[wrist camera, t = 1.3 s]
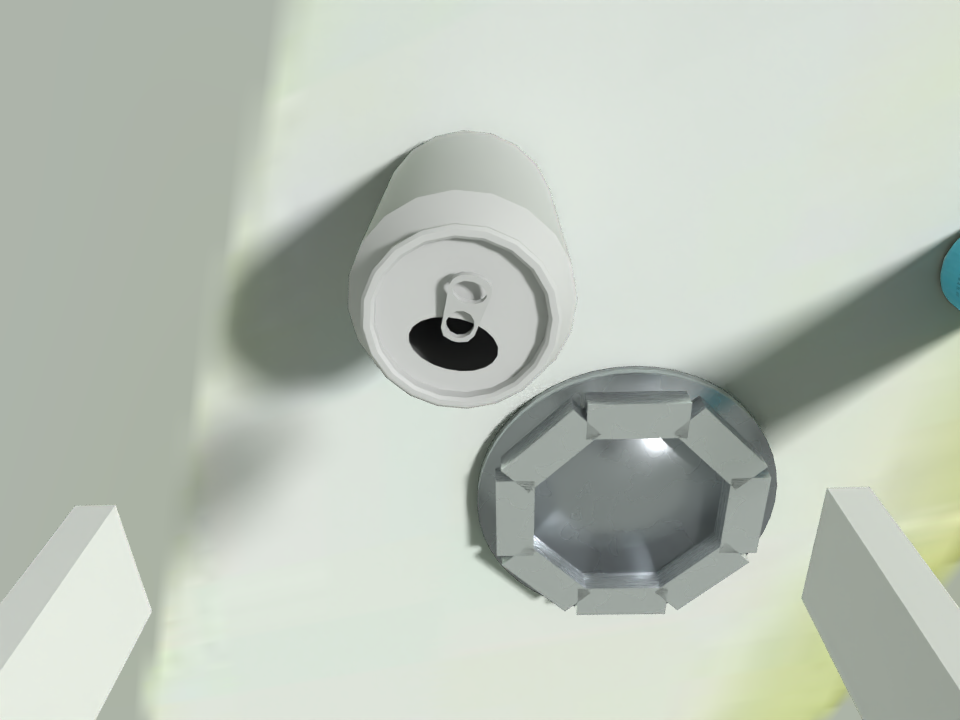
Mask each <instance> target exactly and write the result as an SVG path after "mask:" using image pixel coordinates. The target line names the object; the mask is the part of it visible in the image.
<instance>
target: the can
mask: <svg viewBox="0 0 960 720" xmlns="http://www.w3.org/2000/svg"><path fill="white" fill-rule="evenodd" d="M577 299H578V297H577V291H576V285H575V279H574V273H573V267H572V263H571V259H570V256H569V252H568V249H567V246H566V242H565V239H564V235H563V232H562V229H561V225H560V222H559V218H558V215H557V212H556V208H555V205H554V201H553V198H552V195H551V191H550V188H549V186H548V184H547V182H546V180H545V179H544V177H543V175H542V173H541V171H540V169H539V167H538V165H537V164H536V163H535V162H534V161H533V160H532V159H531V158H530V157H529V156H528V155H527V154H526V153H524V152H523V151H522V150H521V149H520V148H519V147H518V146H517V145H515V144H513V143H511V142H509V141H507V140H504V139H502V138H500V137H498V136H496V135H494V134H491V133H483V132H474V131H465V130H462V131H457V132H453V133H448V134H444V135H439V136H435V137H434V138H432V139H430V140H429V141H427V142H425V143H424V144H422V145H420V146H419V147H417V148H415V149H414V150H412V151H411V152H410V153H409V154H408V156H407V157H406V158H405V159H404V160H403V162H402V163H401V164H400V165H399V166H398V168H397V169H396V170H395V171H394V173H393V175H392V177H391V180H390V182H389V184H388V186H387V188H386V190H385V193H384V195H383V197H382V199H381V201H380V203H379V206H378V208H377V210H376V212H375V214H374V217H373V219H372V221H371V223H370V225H369V227H368V230H367V232H366V234H365V236H364V238H363V240H362V243H361V245H360V248H359V250H358V253H357V255H356V258H355V261H354V263H353V266H352V268H351V271H350V274H349V287H348V310H349V314H350V317H351V320H352V323H353V326H354V329H355V332H356V335H357V338H358V341H359V342H360V344H361V345H362V346H363V348H364V349H365V350H366V352H367V353H368V355H369V356H370V357H371V359H372V360H373V361H374V363H375V364H376V366H377V367H378V368H379V369H380V370H381V371H382V373H383V374H384V375H385V377H386V378H387V379H389V380H390V381H391V382H393V383H394V384H395V385H397V386H398V387H399V388H401V389H402V390H403V391H405V392H406V393H407V394H409V395H410V396H413V397H416V398H418V399H421V400H423V401H426V402H429V403H431V404H434V405H437V406H445V407H456V408H466V409H467V408H473V407H479V406H484V405H490V404H496V403H498V402H500V401H502V400H504V399H506V398H508V397H510V396H512V395H514V394H517V393H519V392H521V391H523V390H524V389H525V388H526V387H527V386H528V385H529V384H530V383H531V382H532V381H533V380H534V379H536V378H537V377H538V376H539V375H540V374H541V373H542V372H543V371H544V370H545V369H546V368H547V367H548V366H549V365H550V364H551V363H553V362H554V361H555V360H556V358H557V356H558V355H559V353H560V351H561V349H562V348H563V346H564V344H565V342H566V340H567V339H568V337H569V335H570V333H571V331H572V327H573V321H574V316H575V310H576V305H577Z"/></svg>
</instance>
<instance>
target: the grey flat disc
mask: <svg viewBox="0 0 960 720" xmlns="http://www.w3.org/2000/svg"><path fill="white" fill-rule="evenodd" d="M776 488H777V478H776V467H775V463H774V458H773V454H772V452H771V449H770V447H769V444H768V442H767V439H766V438H765V436H764V434H763V433H762V431H761V430H760V428H759V426H758V425H757V423H756V422H755V420H754V418H753V417H752V416H751V415H750V413H749V412H748V411H747V410H746V409H745V408H744V407H743V405H742V404H740V403H739V402H738V401H737V400H736V399H734V398H733V397H732V396H731V395H730V394H728V393H727V392H725V391H724V390H722V389H720V388H719V387H717V386H716V385H714V384H712V383H710V382H708V381H705V380H703V379H701V378H699V377H696V376H694V375H690V374H687V373H683V372H680V371H676V370H671V369H665V368H659V367H644V366H629V367H615V368H609V369H603V370H598V371H593V372H589V373H586V374H583V375H580V376H576V377H573V378H571V379H568V380H566V381H564V382H561V383H559V384H557V385H555V386H553V387H551V388H549V389H547V390H546V391H544V392H542V393H541V394H539V395H537V396H536V397H534V398H533V399H532V400H530V401H529V402H528V403H526V404H525V405H524V406H522V407H521V408H520V409H519V410H518V411H517V412H516V413H515V414H514V415H513V416H512V417H511V418H510V419H509V420H508V421H507V422H506V423H505V425H504V426H503V427H502V428H501V430H500V431H499V432H498V434H497V435H496V436H495V438H494V440H493V442H492V443H491V445H490V447H489V449H488V451H487V453H486V456H485V458H484V461H483V464H482V467H481V471H480V476H479V481H478V514H479V522H480V525H481V529H482V532H483V535H484V537H485V540H486V542H487V544H488V546H489V548H490V550H491V551H492V553H493V554H494V556H495V557H496V559H497V560H498V561H499V563H500V564H501V565H502V566H503V567H504V568H505V569H506V570H507V571H508V572H509V573H510V574H511V575H512V576H513V577H515V578H516V579H517V580H518V581H519V582H521V583H522V584H524V585H525V586H527V587H528V588H530V589H531V590H533V591H535V592H537V593H539V594H541V595H543V596H545V597H546V598H547V599H549V600H550V601H551V602H553V603H554V604H556V605H557V606H558V607H560V608H561V609H562V610H564V611H566V610H568V609H569V608H570V607H572V606H576V613H577V615H602V614H665V608H666V603H669V604H670V605H672V606H673V607H674V608H675V609H677V610H678V609H680V608H681V607H683V606H684V605H686V604H687V603H689V602H690V601H692V600H693V599H695V598H696V597H698V596H699V595H701V594H702V593H704V592H705V591H707V590H708V589H710V588H711V587H713V586H714V585H716V584H717V583H719V582H720V581H722V580H723V579H725V578H726V577H728V576H729V575H731V574H732V573H734V572H735V571H737V570H738V569H740V568H741V567H743V566H744V565H746V564H747V563H749V561H748V558H747V556H746V555H747V554H748V553H756V552H757V547H758V542H759V538H760V536H761V535H762V533H763V532H764V530H765V527H766V525H767V523H768V521H769V519H770V517H771V513H772V510H773V506H774V503H775V497H776Z"/></svg>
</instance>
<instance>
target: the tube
mask: <svg viewBox="0 0 960 720" xmlns="http://www.w3.org/2000/svg"><path fill="white" fill-rule="evenodd" d="M941 287H942V291H943V293H944V295H945V297H946V298H947V299H948V300H949V302H950V303H951V304H953V305H954V306H955V307H956V308H957V309H959V310H960V238H959V239H958V240H957V241H956V242H955V243H954V245H953V246H952V247H951V248H950V250H949V251H948V253H947V254H946V256H945V258H944V261H943V265H942V269H941Z"/></svg>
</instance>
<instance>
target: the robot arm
mask: <svg viewBox="0 0 960 720" xmlns="http://www.w3.org/2000/svg"><path fill="white" fill-rule="evenodd" d="M802 600H803V602H804V604H805V606H806V608H807V610H808V612H809V614H810V616H811V618H812V620H813V622H814V624H815V626H816V628H817V630H818V632H819V634H820V636H821V638H822V640H823V642H824V644H825V646H826V648H827V650H828V652H829V654H830V656H831V658H832V660H833V662H834V664H835V666H836V668H837V670H838V672H839V674H840V676H841V678H842V680H843V682H844V684H845V686H846V688H847V690H848V692H849V694H850V696H851V698H852V700H853V702H854V704H855V706H856V708H857V710H858V712H859V714H860V716H861V718H862V720H960V608H959V607H958V606H957V604H956V603H955V602H954V600H953V599H952V597H951V596H950V595H949V593H948V592H947V591H946V589H945V588H944V587H943V585H942V584H941V583H940V581H939V580H938V579H937V577H936V576H935V575H934V573H933V572H932V570H931V569H930V568H929V566H928V565H927V564H926V562H925V561H924V560H923V558H922V557H921V556H920V554H919V553H918V552H917V550H916V549H915V547H914V546H913V545H912V543H911V542H910V541H909V539H908V538H907V537H906V535H905V534H904V533H903V531H902V530H901V529H900V527H899V526H898V524H897V523H896V522H895V520H894V519H893V518H892V516H891V515H890V514H889V512H888V511H887V510H886V508H885V507H884V506H883V504H882V503H881V502H880V500H879V499H878V497H877V496H876V495H875V493H874V492H873V491H872V489H871V488H870V487H843V488H827V490H826V495H825V499H824V503H823V508H822V512H821V516H820V521H819V525H818V529H817V534H816V538H815V542H814V546H813V551H812V555H811V559H810V564H809V568H808V572H807V577H806V581H805V585H804V589H803V594H802ZM151 612H152V610H151V607H150V604H149V601H148V598H147V595H146V592H145V589H144V587H143V584H142V581H141V578H140V575H139V572H138V569H137V566H136V563H135V560H134V557H133V554H132V551H131V548H130V546H129V543H128V540H127V537H126V534H125V531H124V528H123V525H122V522H121V519H120V516H119V514H118V511H117V507H116V505H85V506H74V508H73V509H72V510H71V512H70V513H69V514H68V516H67V517H66V518H65V520H64V521H63V522H62V523H61V525H60V526H59V528H58V529H57V530H56V531H55V533H54V534H53V535H52V536H51V538H50V539H49V540H48V542H47V543H46V544H45V546H44V547H43V548H42V549H41V551H40V552H39V553H38V555H37V556H36V557H35V559H34V560H33V561H32V563H31V564H30V565H29V566H28V568H27V569H26V570H25V572H24V573H23V575H22V576H21V577H20V578H19V579H18V581H17V582H16V583H15V585H14V586H13V587H12V589H11V590H10V591H9V593H8V594H7V595H6V596H5V598H4V599H3V600H2V602H1V603H0V720H96V718H97V716H98V714H99V712H100V710H101V708H102V706H103V704H104V702H105V701H106V699H107V697H108V695H109V693H110V691H111V689H112V687H113V685H114V683H115V681H116V679H117V677H118V676H119V674H120V672H121V669H122V668H123V666H124V664H125V662H126V660H127V658H128V656H129V654H130V653H131V651H132V649H133V647H134V645H135V643H136V641H137V639H138V637H139V635H140V633H141V632H142V630H143V628H144V626H145V623H146V622H147V620H148V618H149V616H150V614H151Z"/></svg>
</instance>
